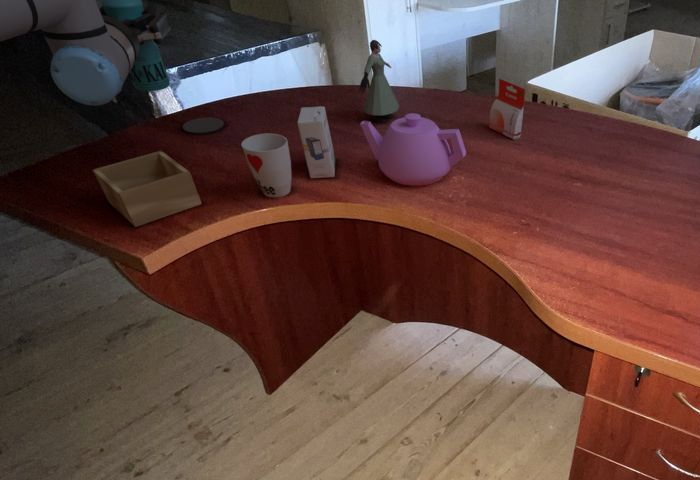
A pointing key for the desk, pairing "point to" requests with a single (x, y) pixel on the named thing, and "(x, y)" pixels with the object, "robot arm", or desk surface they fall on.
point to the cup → (269, 163)
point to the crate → (148, 187)
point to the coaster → (203, 125)
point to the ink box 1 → (316, 142)
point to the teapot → (414, 150)
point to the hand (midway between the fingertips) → (132, 11)
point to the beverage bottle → (140, 49)
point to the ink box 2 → (508, 109)
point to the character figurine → (378, 86)
